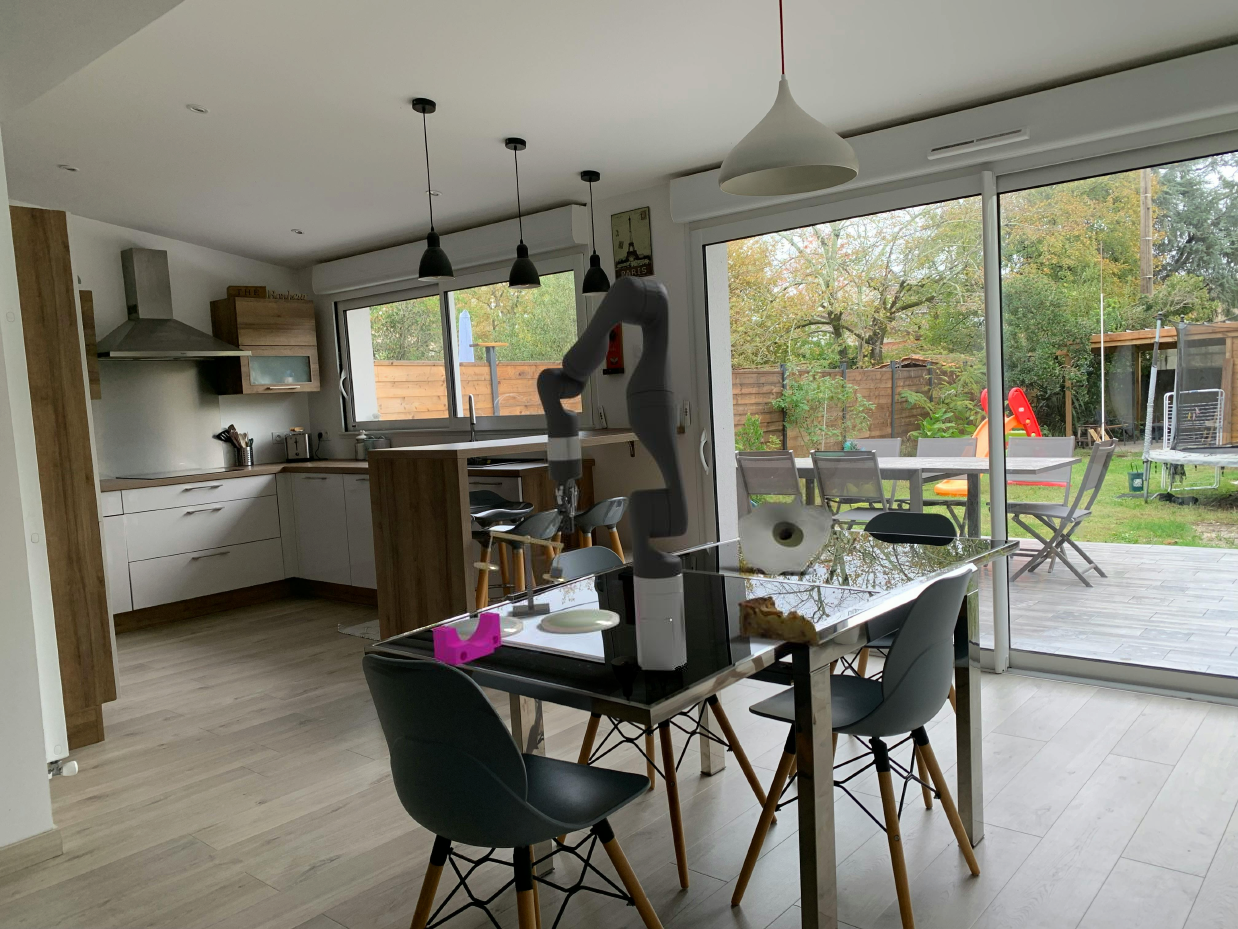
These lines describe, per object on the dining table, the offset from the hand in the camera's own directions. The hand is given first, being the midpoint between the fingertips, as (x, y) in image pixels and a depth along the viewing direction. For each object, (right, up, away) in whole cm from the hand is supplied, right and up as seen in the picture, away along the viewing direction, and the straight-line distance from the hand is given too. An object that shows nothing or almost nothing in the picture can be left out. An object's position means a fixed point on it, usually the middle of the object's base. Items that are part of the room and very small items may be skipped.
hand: (568, 533), depth 198 cm
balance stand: (-10, -21, +17) cm, 29 cm away
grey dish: (-19, -22, +1) cm, 30 cm away
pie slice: (+45, -21, -18) cm, 53 cm away
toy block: (-19, -24, -17) cm, 35 cm away
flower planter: (+72, -8, +54) cm, 91 cm away
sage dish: (+2, -21, +4) cm, 22 cm away
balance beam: (-13, -11, +16) cm, 24 cm away
